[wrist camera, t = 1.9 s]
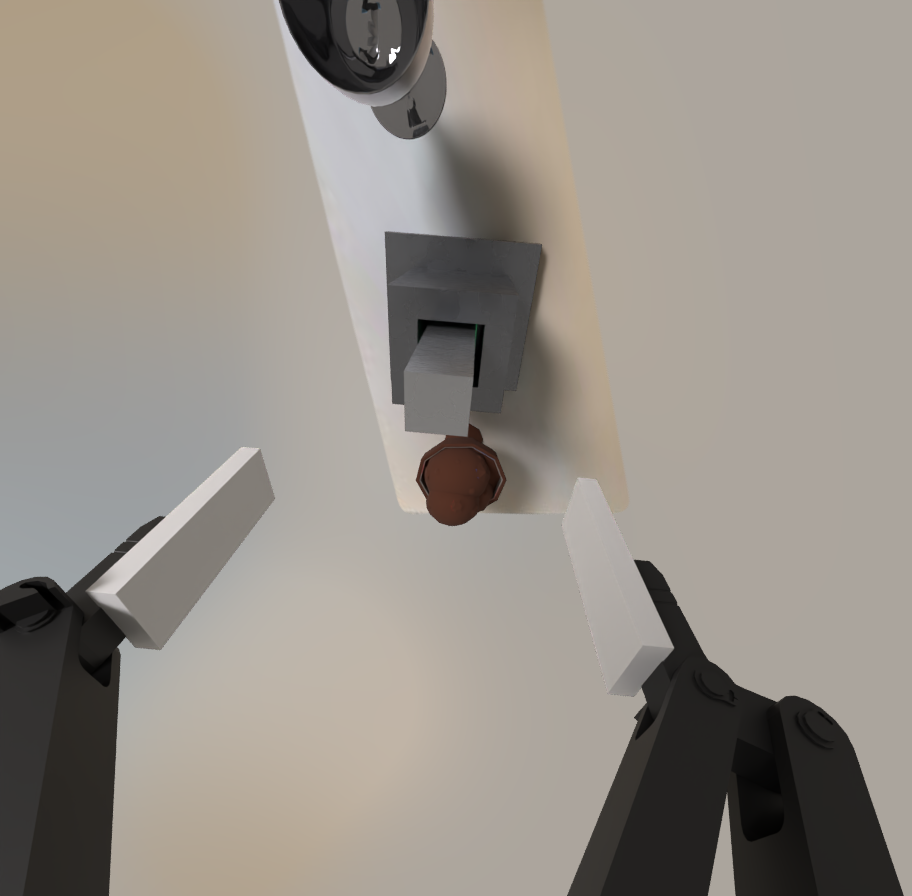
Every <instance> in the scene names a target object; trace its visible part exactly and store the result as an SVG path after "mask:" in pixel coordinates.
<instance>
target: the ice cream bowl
mask: <svg viewBox="0 0 912 896" xmlns="http://www.w3.org/2000/svg"><path fill="white" fill-rule="evenodd" d="M482 441H483V438H482V436H481V433H480V431H479V429H477V428H476V427H474V426H472V425H471V424H469V426H468V436H467V437H465V436H453V435H446V438H445V440H444V441H442V442H441V443H439V444H438V445H437V446H435V447H434V448H432V449H431V450H429V451H428V452H426V453H425V454H424V456H423V457H422V459H421V462H420V466H419V470H418V474H417V478H416V482H417V483H418V485H419V487H420V489H421V490H422V492H423V494H424V496H425V497H426V499H427V500H426V505H427V509H428V511H429V513H430V515H432V516H433V517H434V518H435V519H436V520H437V521H438V522H439V523H442V524H445V525H448V526H457V525H461V524H464V523H466V522H468V521H469V520H471V519H472V518H473V517H474V516H475V515H476V514H477V512H479V511H483V510H484V509H485V508H486V507H487V506H488V505H489V504H491V503H493V502H495V501H497V500H498V498H499V495H500V493H501V491H502V489H503V486H504V484H505V482H506V478H505V475H504V472H503V470H502V467H501V465H500V462H499V460H498V457H497V455H496V452H495V451H493V450H492V449H491V448H489V447H487V446H486V445H484V444H482Z"/></svg>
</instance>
